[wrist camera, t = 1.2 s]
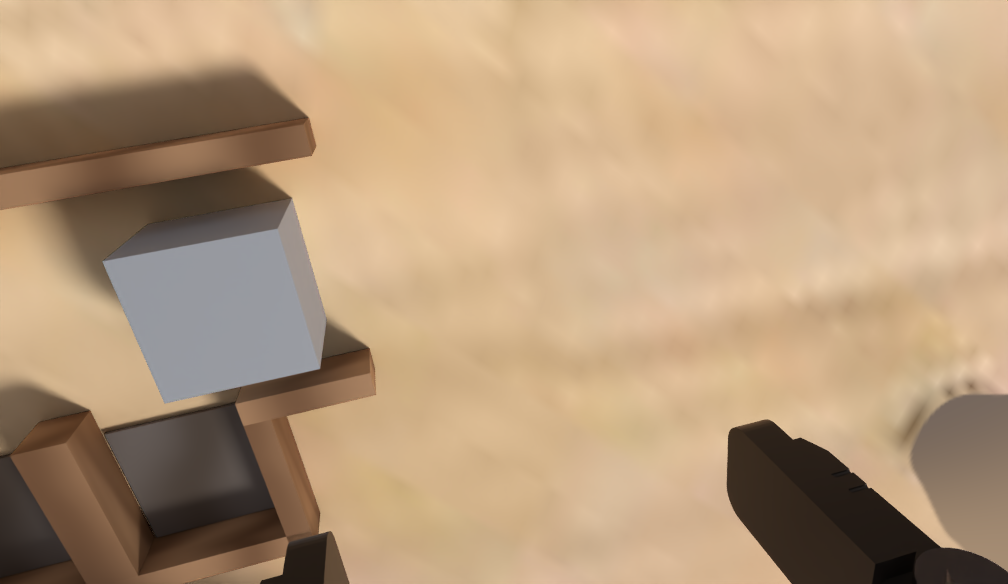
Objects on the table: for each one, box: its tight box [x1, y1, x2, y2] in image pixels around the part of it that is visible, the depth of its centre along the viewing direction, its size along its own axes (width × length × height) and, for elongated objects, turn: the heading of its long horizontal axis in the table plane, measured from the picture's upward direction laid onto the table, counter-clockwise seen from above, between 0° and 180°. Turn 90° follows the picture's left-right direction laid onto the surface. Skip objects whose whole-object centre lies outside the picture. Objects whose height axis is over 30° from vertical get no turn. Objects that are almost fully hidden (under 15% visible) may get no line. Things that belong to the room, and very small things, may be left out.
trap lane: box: [0, 118, 376, 584], centre depth 26 cm, size 27×20×2 cm
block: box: [102, 198, 327, 403], centre depth 25 cm, size 6×6×5 cm
